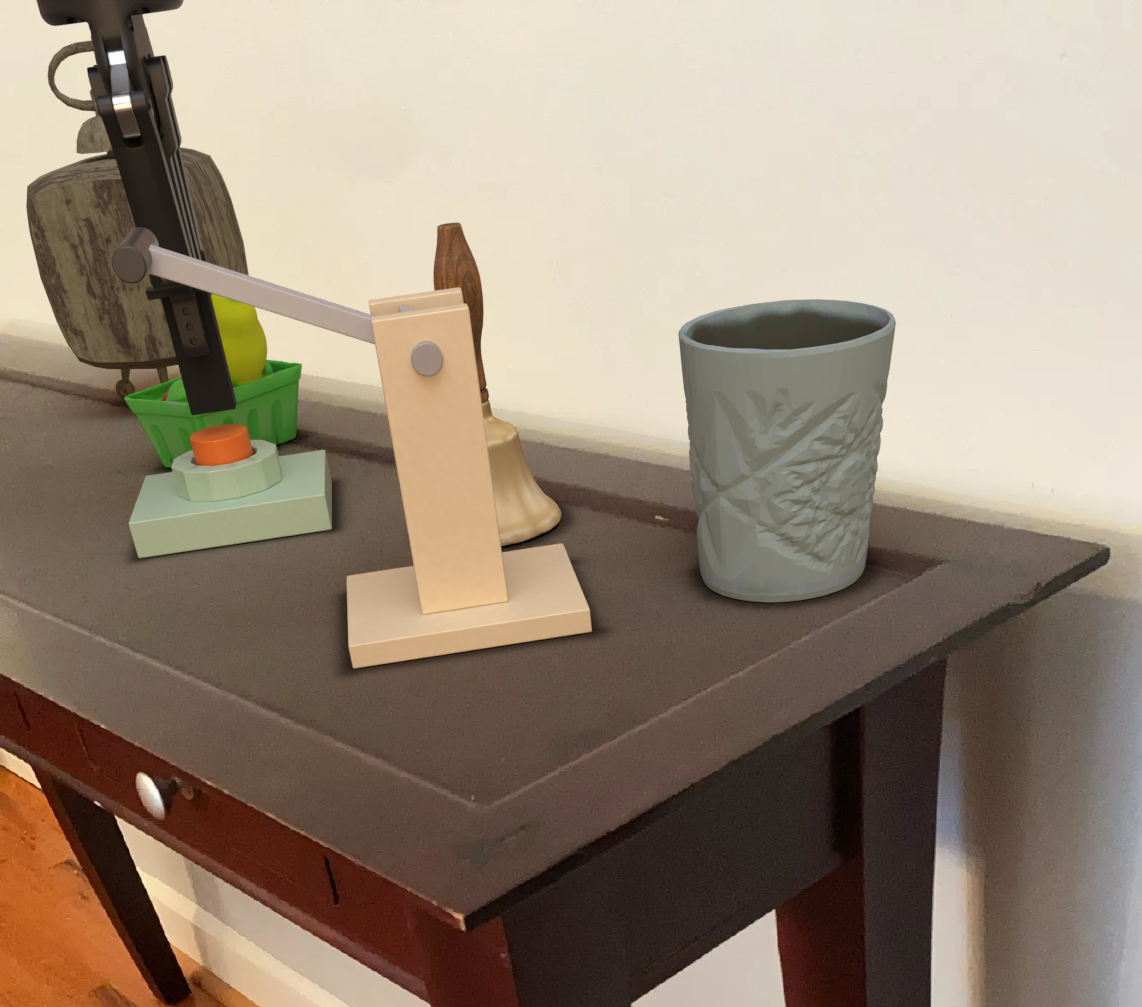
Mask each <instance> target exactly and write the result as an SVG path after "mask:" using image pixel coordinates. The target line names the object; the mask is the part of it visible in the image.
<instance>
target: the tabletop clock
mask: <svg viewBox="0 0 1142 1007" xmlns="http://www.w3.org/2000/svg"><path fill="white" fill-rule="evenodd" d="M91 52H94V50H93V45H92V41H91V40H84V41H77V42H73V43H71V44H67V45H64V46H62V48H60V49H59V50H57V52H56V53H55V54H54V55H53V56H52V58H51V60H50V61H49V64H48V66H47V67H48V69H47V81H48V86H49V88H50V91H51V92H52V93H53V94H54V97H56V99H58V100H59V101H60V102H61V103H62V104H64V105H65V106H67V107H69V108H72V109H76V110H78V111H84V112H94V114H95V116H93V117H90V118H88V119H86V120H85V121H84V122H83V123H82V124H81V126H80V128H79V130H78V132H77V137H76V154H80V155H89V154H99V153H103V154H99V155H95V156H91V157H87V158H84V159H81V160H78V161H75V162H73V163H70V164H68V165H65V166H62V167H59V168H56V169H54V170H51V171H48V172H46V173H44V174H42V175H40V176H39V177H37V178H36V179H34V180H33V181H32V182H30V184H28V185H26V202H25V203H26V205H25V206H26V208H25V209H26V217H27V225H28V231H29V235H30V236H29V237H30V240H31V244H32V249H33V252H34V256H35V262H36V265H37V269H38V273H39V278H40V281H41V283H42V285H43V288H44V291H45V295H46V297H47V299H48V302H49V306H50V307H51V310H52V313H53V316H54V318H55V321H56V324H57V326H58V328H59V330H60V332H61V334H62V336H63V338H64V340H65V342H66V344H67V346H68V347H69V348H70V350H71V351H72V353H73V354H74V355H75V357H76V358H77V360H78V361H79V363H82V364H86V365H88V366H91V367H94V368H99V369H105V370H120V374H121V379H119V380H117V382H116V383H115V386H114V387H115V388H114V389H115V393H116V394H117V396H118V397H119V398H120V399H122V400H124V398H125V397H126V396H127V395H130V394H133V393H136V386H135V385H134V384H133V383H132V381H131V380H130V373H131V370H156V372H157V375H158V379H159V382H160V383H159V384H162V383H164V382H168V381H169V376H168V375H169V374H168V367H173V366H178V362H177V358H176V355H175V351H174V347H173V343H172V339H171V335H170V332H169V328H168V324H167V320H166V316H165V312H164V309H163V305H162V301H161V299H155V300H148V298H147V295H146V292H145V290H146V288H147V287H151V286H153V285H151V283H150V279H149V275H150V274H149V273H146V275H145V277H144V278H143V279H142V280H141V281H140V282H138V283H134V284H129V283H126V282H124V281H122V280H120V279H119V278H118V277H117V276H116V274H115V273H114V271H113V268H112V264H111V259H112V255H113V253H114V251H115V250H116V249H117V247H118V246H119V245H120V244H121V242H122V241H123V240H124V238H125V237H126V236H127V234H128V233H129V232H130V231H131V230H132V229H134V228H136V226H135V223H134V220H133V216H132V213H131V210H130V206H129V203H128V199H127V196H126V193H125V189H124V186H123V183H122V179H121V176H120V172H119V169H118V166H117V162H116V159H115V156H114V154H113V150H112V147H111V143H110V140H109V138H108V135H107V132H106V129H105V126H104V124H103V121H102V118H101V116H99V114H98V111H97V106H96V105H98V104H97V103H96V102H95V100H94V97H93V93H92V89H91V88H90V91H89V95H90V99H87V100H86V99H85V100H83V99H79V98H74V97H69V96H68V95H67V94H64V93H63V92H61V91H60V90H59V88H58V87H57V85H56V81H55V76H56V73H57V70H58V68H59V66H61V63H62V62H64V61H65V60H66V59H68V58H69V57H71V56H74V55H78V54H83V53H91ZM180 148H181V153H182V157H183V162H184V167H185V171H186V176H187V180H188V185H189V190H190V194H191V199H192V204H193V208H194V213H195V217H196V222H197V227H198V231H199V236H200V240H201V245H202V250H203V251H205V255H206V262H207V263H211V264H214V265H217V266H220V267H223V268H226V269H229V270H232V271H236V272H239V273H242V274H245V275H248V276H250V273H249V268H248V262H247V261H248V260H247V255H246V249H245V243H244V238H243V235H242V231H241V229H240V225H239V224H240V223H239V222H238V218H237V214H236V212H235V207H234V204H233V201H232V198H231V194H230V192H229V189H228V187H227V184H226V182H225V180H224V177H223V175H222V173H221V170H220V169H219V168H218V166H217V165H216V163H215V161H214V159H213V158H212V155H210V154H207V153H204V152H203V151H199V150H197V149H193V148H188V147H181V146H180ZM210 294H211V295H212V293H210Z"/></svg>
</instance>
